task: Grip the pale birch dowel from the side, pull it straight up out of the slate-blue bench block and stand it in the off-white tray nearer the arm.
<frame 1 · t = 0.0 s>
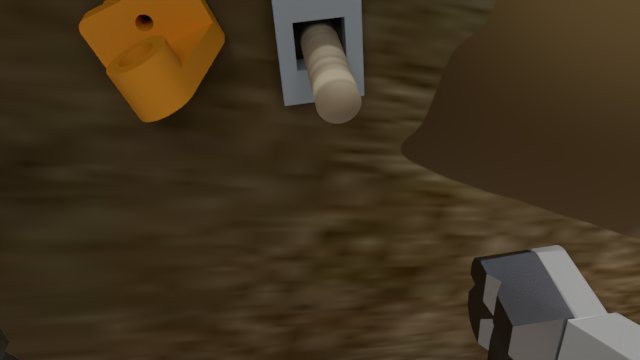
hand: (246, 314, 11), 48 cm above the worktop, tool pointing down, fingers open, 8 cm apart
bracket: (154, 21, 56), on the worktop
dowel: (326, 65, 53), in the bench block
bench block: (317, 34, 59), on the worktop
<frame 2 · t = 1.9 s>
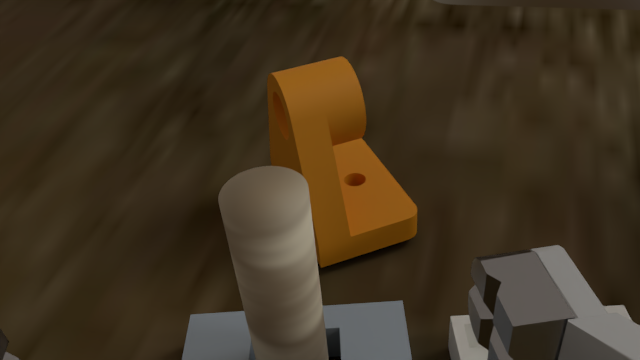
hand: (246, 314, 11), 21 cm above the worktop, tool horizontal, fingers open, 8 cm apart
bracket: (343, 214, 44), on the worktop
dowel: (284, 309, 28), in the bench block
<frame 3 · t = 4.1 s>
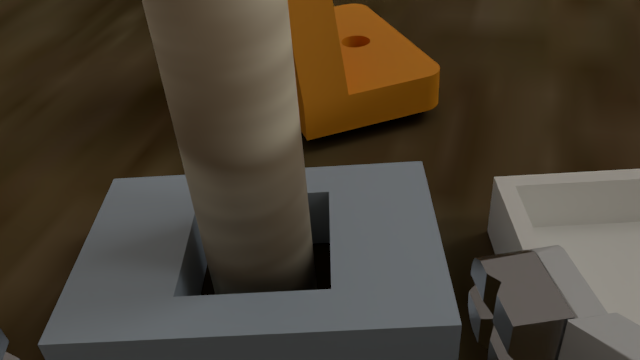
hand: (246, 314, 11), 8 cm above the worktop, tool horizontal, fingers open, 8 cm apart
bracket: (339, 93, 34), on the worktop
dowel: (238, 124, 18), in the bench block
bench block: (267, 291, 22), on the worktop
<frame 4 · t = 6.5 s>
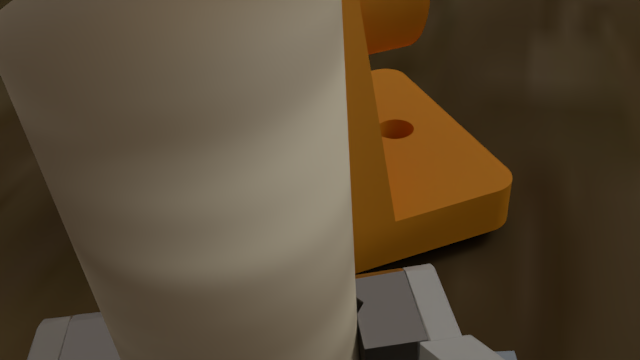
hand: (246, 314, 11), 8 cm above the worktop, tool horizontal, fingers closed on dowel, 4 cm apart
bracket: (372, 190, 27), on the worktop
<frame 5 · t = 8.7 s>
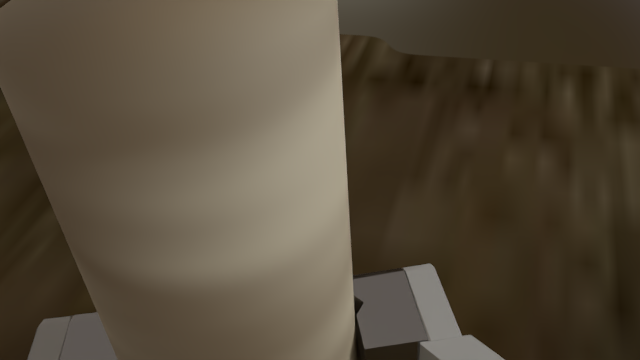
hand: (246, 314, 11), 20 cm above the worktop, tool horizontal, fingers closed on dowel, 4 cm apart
when the fingers open (10 cm above the worktop, at t = 11.3 s): dowel drops 1 cm, resting on tray.
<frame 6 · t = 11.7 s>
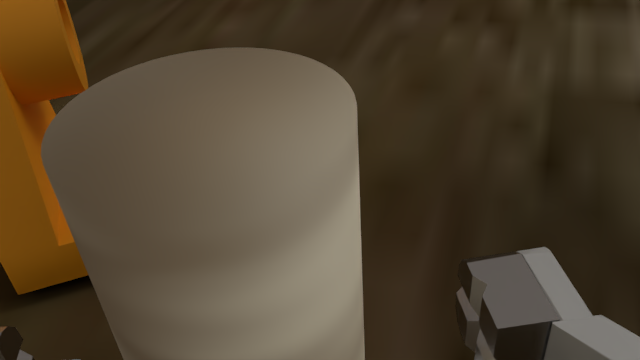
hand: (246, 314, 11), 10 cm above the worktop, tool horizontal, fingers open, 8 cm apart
bracket: (107, 212, 30), on the worktop
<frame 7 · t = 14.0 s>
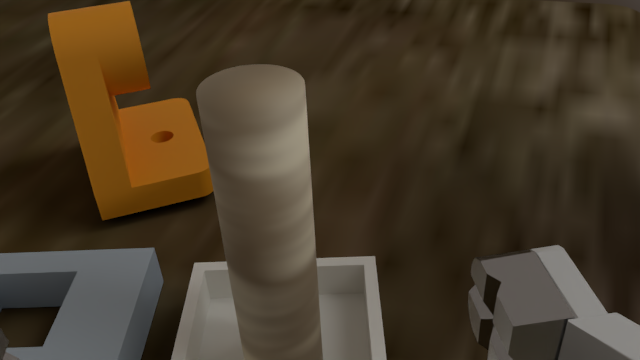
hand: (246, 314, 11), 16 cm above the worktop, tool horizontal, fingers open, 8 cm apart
bracket: (154, 174, 43), on the worktop
dowel: (270, 246, 24), in the tray, point 8 cm above the worktop
bench block: (28, 342, 30), on the worktop
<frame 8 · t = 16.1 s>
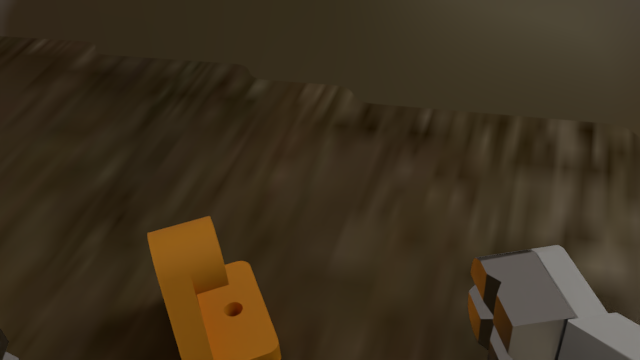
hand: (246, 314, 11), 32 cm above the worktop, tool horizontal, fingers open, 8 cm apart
bracket: (226, 336, 51), on the worktop
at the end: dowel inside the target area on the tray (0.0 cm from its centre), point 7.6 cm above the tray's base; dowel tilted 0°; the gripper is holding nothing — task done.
